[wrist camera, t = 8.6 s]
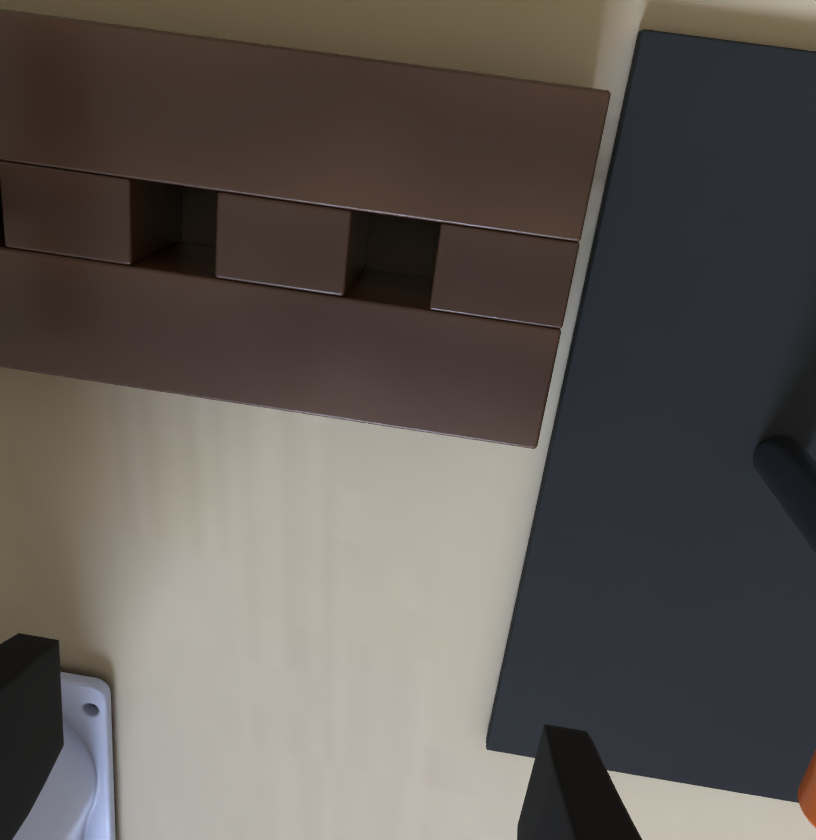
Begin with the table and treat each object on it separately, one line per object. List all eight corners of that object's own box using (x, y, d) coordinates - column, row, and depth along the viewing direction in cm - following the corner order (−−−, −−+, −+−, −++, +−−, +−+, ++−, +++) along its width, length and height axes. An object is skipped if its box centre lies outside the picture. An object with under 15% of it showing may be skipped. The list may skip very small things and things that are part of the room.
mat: (841, 798, 24) (847, 811, 23) (486, 737, 24) (485, 750, 24) (1169, 99, 16) (1189, 100, 16) (638, 30, 17) (642, 28, 16)
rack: (530, 402, 20) (537, 450, 17) (-90, 308, 21) (-180, 340, 18) (592, 91, 17) (611, 90, 14) (-132, -5, 18) (-245, -24, 15)
